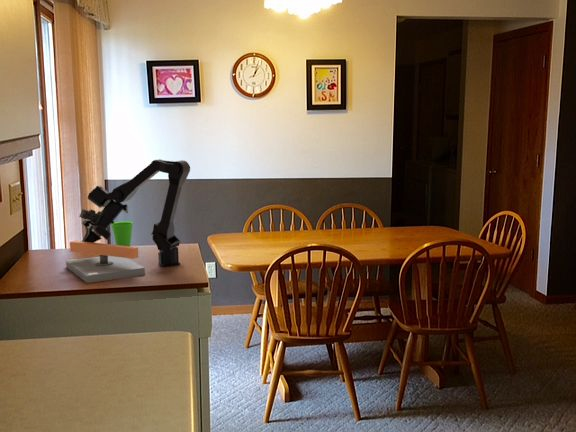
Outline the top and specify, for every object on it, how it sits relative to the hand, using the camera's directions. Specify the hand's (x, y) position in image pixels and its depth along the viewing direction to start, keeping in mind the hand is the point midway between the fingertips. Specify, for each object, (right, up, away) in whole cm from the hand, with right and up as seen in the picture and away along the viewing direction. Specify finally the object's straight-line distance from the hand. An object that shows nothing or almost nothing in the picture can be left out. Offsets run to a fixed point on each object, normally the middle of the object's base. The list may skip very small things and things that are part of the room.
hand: (80, 247), depth 226 cm
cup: (+7, -3, +32) cm, 33 cm away
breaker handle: (+10, -6, -6) cm, 13 cm away
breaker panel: (+10, -8, -5) cm, 14 cm away
